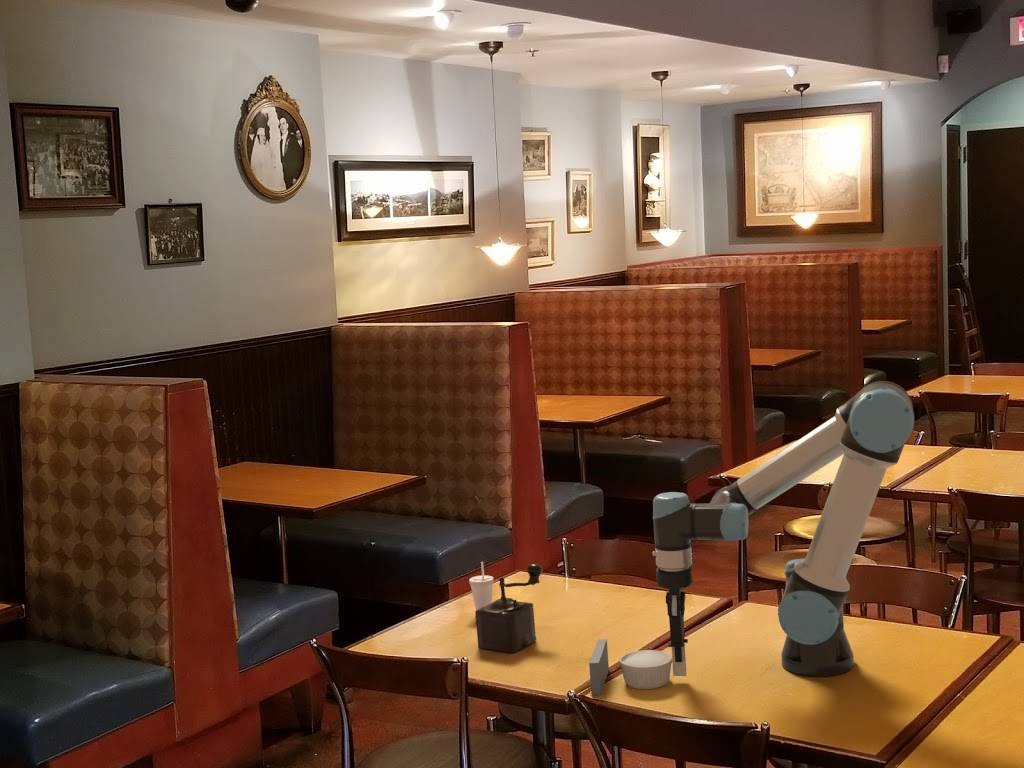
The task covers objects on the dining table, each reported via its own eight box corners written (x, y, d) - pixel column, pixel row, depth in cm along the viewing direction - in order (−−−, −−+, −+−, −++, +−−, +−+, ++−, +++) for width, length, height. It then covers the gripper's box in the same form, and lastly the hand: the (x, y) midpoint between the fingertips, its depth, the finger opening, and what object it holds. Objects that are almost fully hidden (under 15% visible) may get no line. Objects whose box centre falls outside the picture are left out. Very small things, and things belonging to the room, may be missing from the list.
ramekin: (622, 673, 267) (620, 649, 266) (673, 672, 265) (672, 648, 264) (619, 692, 256) (617, 667, 255) (672, 691, 254) (671, 666, 253)
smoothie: (496, 617, 313) (491, 564, 311) (471, 619, 313) (466, 566, 311) (496, 610, 319) (492, 558, 318) (472, 612, 319) (468, 559, 318)
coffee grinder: (515, 654, 284) (509, 579, 282) (476, 648, 290) (470, 575, 288) (551, 634, 297) (545, 562, 294) (513, 629, 303) (508, 558, 301)
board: (608, 669, 269) (606, 639, 269) (600, 695, 255) (598, 663, 254) (599, 669, 270) (597, 639, 269) (591, 695, 255) (589, 663, 254)
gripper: (658, 558, 263) (664, 663, 266) (653, 575, 251) (659, 685, 253) (693, 557, 262) (698, 663, 265) (690, 575, 249) (696, 686, 252)
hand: (679, 674), depth 259 cm, fingers closed
